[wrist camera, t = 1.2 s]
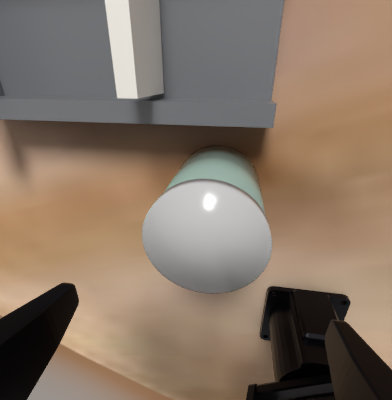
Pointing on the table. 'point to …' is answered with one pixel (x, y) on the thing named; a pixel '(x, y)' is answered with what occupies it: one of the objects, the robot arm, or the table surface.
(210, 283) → the jar
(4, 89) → the pusher lane
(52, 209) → the table surface
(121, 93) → the plate
